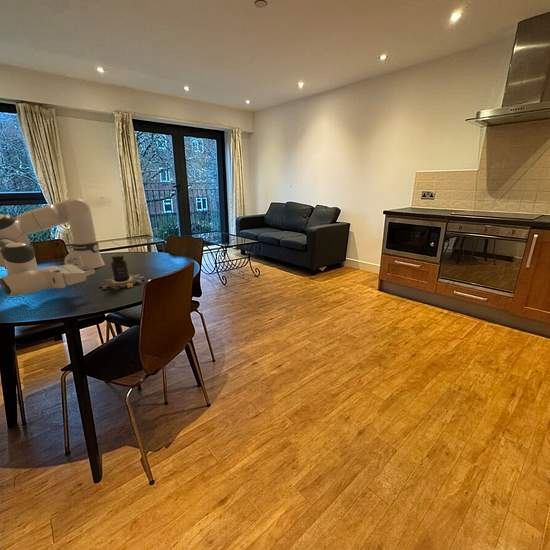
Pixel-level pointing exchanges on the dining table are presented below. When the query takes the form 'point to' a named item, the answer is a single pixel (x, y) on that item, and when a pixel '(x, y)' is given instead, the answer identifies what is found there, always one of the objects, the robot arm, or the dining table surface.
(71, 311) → the dining table surface
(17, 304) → the dining table surface
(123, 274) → the supplement bottle
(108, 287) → the sprocket plate
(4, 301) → the dining table surface
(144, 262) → the dining table surface
